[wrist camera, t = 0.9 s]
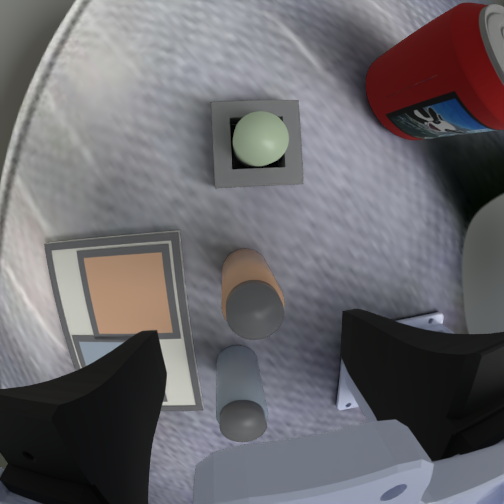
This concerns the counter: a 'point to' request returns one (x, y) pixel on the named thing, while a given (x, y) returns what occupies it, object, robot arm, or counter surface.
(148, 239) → the picture card
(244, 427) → the cylinder
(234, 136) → the button
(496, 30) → the beverage can
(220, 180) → the button housing
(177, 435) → the counter surface
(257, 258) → the terracotta marker
